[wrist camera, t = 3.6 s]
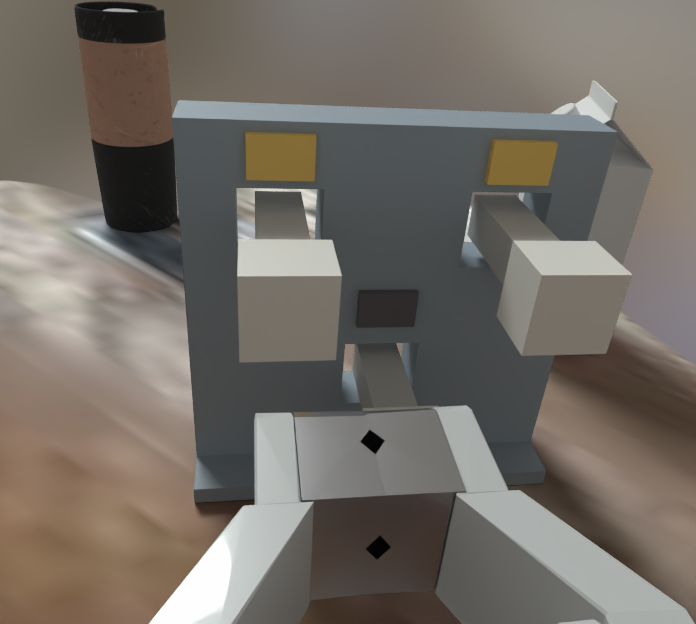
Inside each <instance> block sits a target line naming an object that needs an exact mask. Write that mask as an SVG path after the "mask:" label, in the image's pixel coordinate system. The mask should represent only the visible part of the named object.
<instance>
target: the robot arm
mask: <svg viewBox="0 0 696 624" xmlns="http://www.w3.org/2000/svg"><path fill="white" fill-rule="evenodd" d="M254 468H255V505H246V506H242V508H241V509H240V510H239V511H238V513H237V514H236V515H235V516H234V518H233V519H232V520H231V521H230V523H229V524H228V525H227V526H226V528H225V529H224V530H223V532H222V533H221V534H220V535H219V537H218V538H217V539H216V540H215V542H214V543H213V544H212V545H211V547H210V548H209V549H208V550H207V552H206V553H205V554H204V555H203V557H202V558H201V559H200V560H199V562H198V563H197V564H196V565H195V567H194V568H193V569H192V570H191V572H190V573H189V574H188V575H187V577H186V578H185V579H184V580H183V582H182V583H181V584H180V585H179V587H178V588H177V589H176V590H175V592H174V593H173V594H172V595H171V597H170V598H169V599H168V600H167V602H166V603H165V604H164V605H163V607H162V608H161V609H160V610H159V612H158V613H157V614H156V615H155V617H154V618H153V619H152V620H151V622H150V623H149V624H300V622H301V620H302V618H303V616H304V614H305V612H306V610H307V608H308V606H309V601H310V600H320V599H329V598H338V597H348V596H357V595H366V594H372V593H373V594H381V593H401V592H420V591H436V593H435V594H436V595H437V596H438V598H439V599H440V600H441V601H442V602H443V603H444V604H445V606H446V607H447V608H448V609H449V610H450V611H451V612H452V614H453V615H454V616H455V617H456V618H457V619H458V620H459V621H460V623H461V624H695V623H694V622H693V620H692V618H691V617H690V615H689V614H688V612H687V611H686V609H685V608H683V607H682V606H681V605H679V604H678V603H676V602H675V601H674V600H672V599H671V598H669V597H668V596H667V595H665V594H664V593H662V592H661V591H660V590H658V589H657V588H655V587H654V586H653V585H651V584H650V583H649V582H647V581H646V580H644V579H643V578H642V577H640V576H639V575H637V574H636V573H635V572H633V571H632V570H630V569H629V568H628V567H626V566H625V565H623V564H622V563H621V562H619V561H618V560H616V559H615V558H614V557H612V556H611V555H610V554H608V553H607V552H605V551H604V550H603V549H601V548H600V547H598V546H597V545H596V544H594V543H593V542H591V541H590V540H589V539H587V538H586V537H584V536H583V535H582V534H580V533H579V532H577V531H576V530H575V529H573V528H572V527H571V526H569V525H568V524H566V523H565V522H564V521H562V520H561V519H559V518H558V517H557V516H555V515H554V514H552V513H551V512H550V511H548V510H547V509H545V508H544V507H543V506H541V505H540V504H538V503H537V502H536V501H534V500H533V499H532V498H530V497H529V496H527V495H526V494H525V493H523V492H522V491H520V490H509V489H508V487H507V485H506V483H505V481H504V479H503V476H502V474H501V472H500V470H499V468H498V466H497V463H496V461H495V459H494V457H493V455H492V453H491V450H490V448H489V446H488V444H487V442H486V440H485V437H484V435H483V433H482V431H481V429H480V427H479V424H478V422H477V420H476V418H475V416H474V414H473V411H472V409H470V408H469V407H468V406H467V405H463V406H446V407H432V409H430V408H423V409H400V410H377V411H328V412H293V415H292V413H256V414H255V419H254Z"/></svg>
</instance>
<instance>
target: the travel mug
mask: <svg viewBox="0 0 696 624" xmlns="http://www.w3.org/2000/svg"><path fill="white" fill-rule="evenodd" d="M75 17H76V25H77V32H78V40H79V47H80V55H81V62H82V71H83V79H84V86H85V94H86V101H87V109H88V117H89V124H90V133H91V138H92V145H93V151H94V157H95V163H96V168H97V174H98V180H99V186H100V192H101V197H102V203H103V209H104V214H105V219H106V222H107V223H108V225H110V226H111V227H113V228H115V229H118V230H123V231H129V232H146V231H153V230H158V229H162V228H165V227H167V226H169V225H171V224H172V223H174V222H175V220H176V218H177V203H176V202H177V200H176V176H175V152H174V139H173V125H172V107H171V96H170V83H169V71H168V59H167V47H166V38H165V37H166V35H165V23H164V10H157V9H156V7H155V6H153V5H149V4H142V3H131V2H84V3H79V4H76V5H75Z"/></svg>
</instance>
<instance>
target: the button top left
mask: <svg viewBox="0 0 696 624" xmlns="http://www.w3.org/2000/svg"><path fill="white" fill-rule="evenodd" d="M341 282H342V275H341V271H340V267H339V263H338V260H337V256H336V252H335V248H334V245H333V241H332V240H310V236H309V231H308V226H307V221H306V216H305V211H304V206H303V201H302V195H301V192H272V191H255V239H238V267H237V287H238V327H239V362H281V361H324V360H336V352H337V338H338V324H339V310H340V296H341Z"/></svg>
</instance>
